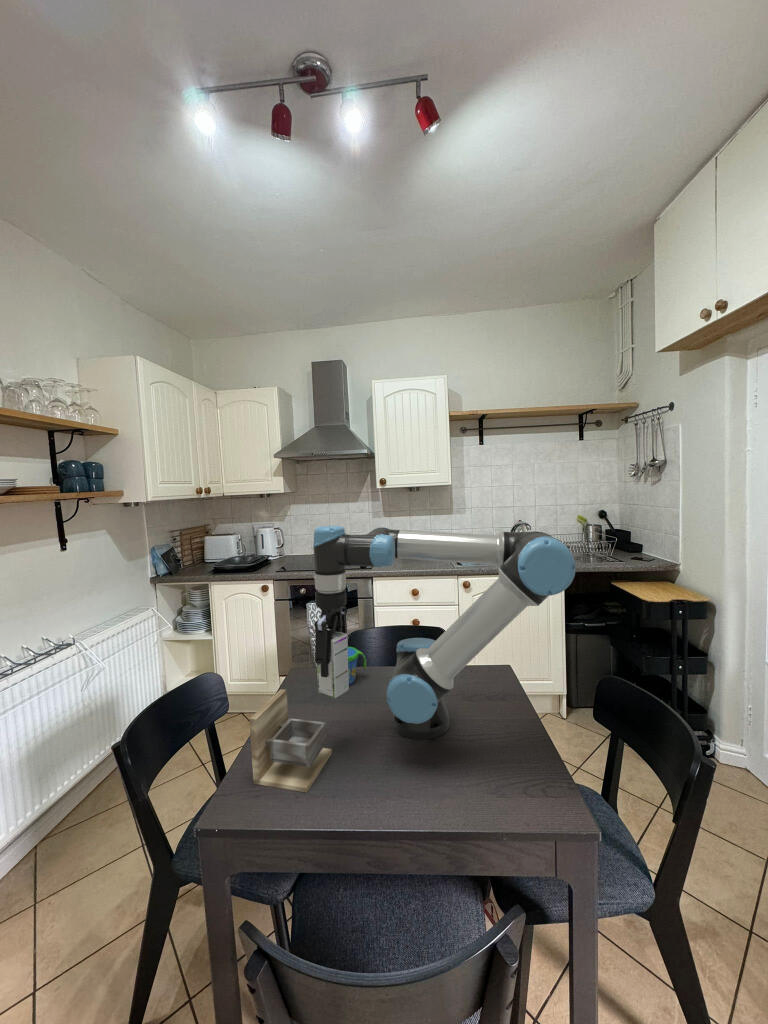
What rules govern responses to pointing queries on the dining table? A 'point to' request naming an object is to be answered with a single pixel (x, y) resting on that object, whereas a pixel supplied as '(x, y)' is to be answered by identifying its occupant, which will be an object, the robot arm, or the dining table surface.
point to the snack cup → (353, 663)
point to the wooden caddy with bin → (286, 747)
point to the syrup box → (337, 666)
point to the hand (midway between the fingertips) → (333, 681)
